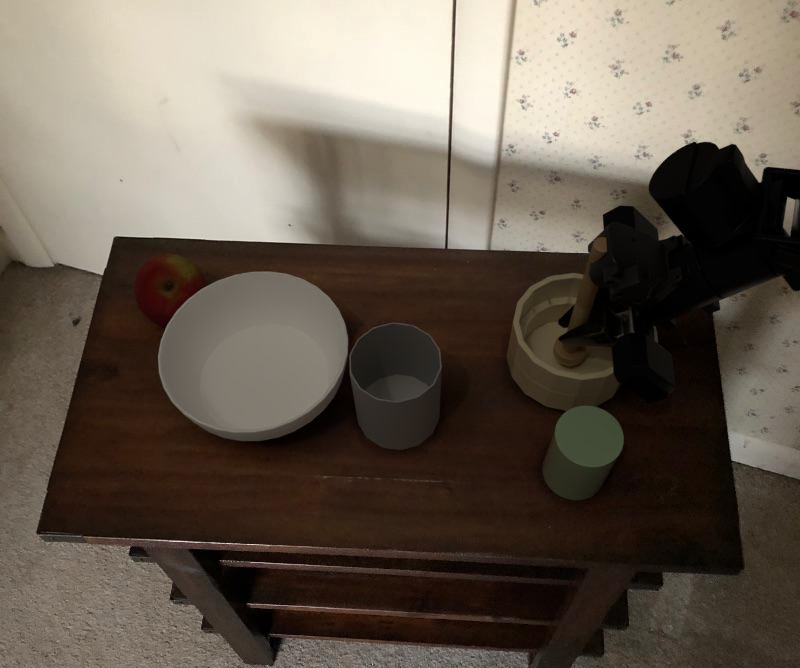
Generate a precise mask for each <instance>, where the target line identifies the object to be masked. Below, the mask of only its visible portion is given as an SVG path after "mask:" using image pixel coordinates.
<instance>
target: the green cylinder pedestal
mask: <svg viewBox="0 0 800 668" xmlns="http://www.w3.org/2000/svg"><path fill="white" fill-rule="evenodd" d="M624 445H625V436H624V431H623V429H622V426H621V424H620V423H619V421H618V420H617V419H616V418H615V416H613V415H612V414H611V413H610V412H608V411H607V410H605V409H603V408H600V407H599V406H596V407H594V406H578V407H574V408H572V409H570V410H568V411H565V412H564V413H562V415H561V416H560V417H559V418H558V420H557V422H556V424H555V427H554V430H553V433H552V435H551V438H550V440H549V444H548V447H547V450H546V452H545V456H544V459H543V462H542V467H541V469H542V470H541V471H542V476H543V479H544V482H545V484H546V485H547V487H548V488H549V489H550V491H552V492H553V493H554V494H555V495H557V496H559V497H561V498H563V499H566V500H569V501H583V500H587V499H589V498H592V497H594V496H595V495H597V493H598V492H599V491H600V490H601V489H602V487H603V485H604V483H605V482H606V479H607V478H608V476H609V475H610V472H611V470H612V469H613V467H614V465H615V463H616V462H617V460H618V458H619V456H620V455H621V453H622V451H623V448H624Z"/></svg>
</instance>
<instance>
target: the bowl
mask: <svg viewBox="0 0 800 668" xmlns="http://www.w3.org/2000/svg"><path fill="white" fill-rule="evenodd" d="M348 356H349V335H348V329H347V324H346V322H345V320H344V318H343V316H342V313H341V311H340V309H339V307H338V306H337V305H336V304H335V303H334V301H333V300H332V299H331V297H330V296H329V295H327V294H326V293H325V292H324V291H323V290H322V289H321V288H319V287H318V286H317V285H315V284H313V283H311V282H309V281H307V280H305V279H304V278H300V277H298V276H294V275H292V274H289V273H283V272H277V271H247V272H242V273H237V274H233V275H230V276H228V277H224V278H221V279H218V280H216V281H214V282H212V283H210V284H207V286H206V287H205V288H203V289H201V290H200V291H198V292H197V293H196V294H194V295H193V296H192V297H190V298H189V299H188V300H187V301H186V302H185V303H184V304H183V305H182V306H181V307H180V308H179V309H178V310H177V311H176V313H175V314H174V316H173V317H172V319H171V320H170V322H169V323H168V325H167V327H166V328H165V329H164V332H163V334H162V337H161V339H160V342H159V348H158V355H157V363H158V375H159V378H160V382H161V384H162V388H163V390H164V392H165V393H166V395H167V397H168V398H169V400H170V402H171V403H172V405H174V407H176V409H178V410H179V412H181V413H182V415H184V416H185V417H186V418H188V419H189V420H190V421H191V422H193V423H194V424H195V425H197V426H199V427H200V428H201V429H203V430H205V431H206V432H208V433H209V434H211V435H215V436H217V437H220V438H223V439H226V440H227V439H228V440H232V441H237V442H238V441H239V442H262V441H268V440H272V439H278V438H281V437H283V436H287V435H288V434H291V433H294V432H296V431H297V430H299V429H301V428H303V427H305V426H306V425H307V424H310V423H311V422H312V421H314V420H315V419H316V418H317V417H318V416H319V415H320V414H322V413H323V412H324V411H325V410H326V408H327V407H328V406H329V404H330V403H332V401H333V399H334V398H335V396H336V394H337V393H338V390H339V388H340V387H341V385H342V382H343V379H344V374H345V370H346V366H347V361H348V358H349V357H348Z"/></svg>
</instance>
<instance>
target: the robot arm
mask: <svg viewBox="0 0 800 668" xmlns="http://www.w3.org/2000/svg"><path fill="white" fill-rule="evenodd" d="M648 193H649V195H650V196H651V198H652V199H653V200H654V201H655V203H656V204H657V205H658V206H659V207H660V209H661V210H662V211H663V212H664V213H665V215H666V216H667V217H668V218H669V220H670V221H671V222H672V223H673V225H674V226H675V227H676V228H677V230H678V231H679V233H680V234H678V235H671V236H669V237H666V238H664V239H660V237H659V230H658V228H657V227H656V226H655V225H654V224H652V222H651V221H650V220H649V219H647V218H646V216H644V215H643V214H642V213H641V212H640V211H639V210H638V209H637V208H636V207H635V206H634V205H617V206H616V207H614V208H612V209H611V210H608V211H607V212H604V213H602V225H603V226H602V227H603V230H602V231H600V233H599V234H597V236H595V238H593V239H592V240H591V241H590V242H589V243H588V244H587V253H588V254H589V255H590V252H591V249H592V246H593V242H594V241H595V240H596V239H597V238H599V237H605V238H606V245H607V252H606V253H605V254H604V255H603V256H602V257H601V258H600V259H598V260H597V261H595V262H594V263H590V269H589V276H590V279H591V281H592V282H593V283H594V284H595V285H596V286H598V287H599V289H598V292H597V295H596V298H595V301H594V304H593V307H592V310H591V313H590V316H589V318H588V321H587V323H586V324H583V325H581V326H579V327H577V328H574V329H572V330H570V331H568V332H566V333H565V334H563V335H561V336H560V337H559V342H561V343H562V344H564V345H577V346H597V347H610V348H612V358H613V373H614V375H615V377H616V379H617V381H618V382H619V383H620V384H622V385H621V386H623V387H625V388H626V389H628V390H629V391H631V392H632V393H633V394H635V395H636V396H638V397H639V398H641V399H642V400H644V401H645V402H646V403H648V404H653V403H656V402H659V401H661V400H665V399H667V398H668V397H670V396H671V395H672V393H673V392H674V390H675V389H676V381H675V371H674V365H673V364H674V363H673V354H672V353H671V352H669V350H667V348H664V347H663V346H662V345H661V344H659V336H658V330H657V326H659V327H660V328H662V329H663V330H665V331H666V332H667V331H670V330H672V329H675V328H677V319H678V318H680V317H682V316H685V315H687V314H690V313H692V312H694V311H698V310H699V309H703V310H704V311H705V312H707V313H708V314H709V315H711V314H713V313H716V312H719V311H721V305H720V304H721V303H720V301H722V300H725V299H727V298H731V297H733V296H735V295H737V294H740V293H742V292H744V291H748V290H750V289H752V288H755V287H757V286H760V285H762V284H765V283H767V282H770V281H773V280H774V279H777V278H780V277H782V278H783V279H784V281H785V283H786V284H787V285H788V286H789V288H790V289H791V290H792V291H793V292H800V169H796V168H786V167H775V166H766V167H764V168H763V170H762V174H761V179H760V181H759V180H758V179H757V177H756V176H755V175H754V173H753V172H752V170H751V169H750V167H749V166H748V164H747V163H746V160H745V156H744V155H743V153H742V151H741V150H740V148H739V147H738V145H737V144H735V143H730V144H728V145H726V146H725V145H724V146H723V147H720V148H719V146H718V145H717V144H716V143H715V142H712V141H701V142H697V141H691V142H689V143H687V144H686V145H684V146H681V147H680V148H678V149H677V150H675V151H674V152H672V153H671V154H669V155H668V156H667V157H666V158H665V159H664V160H663V161H662V162H661V163H660V164H659V165H658V167H657V168H656V169H655V171H654V172H653V174H652V176H651V177H650V180H649V183H648ZM788 198H789V199H791V200H794V207H793V214H792V221H791V227H790V233H788V231H787V229H786V228H785V227H784V224H785V223H784V222H785V218H786V217H785V216H786V210H787V209H786V208H787V204H788ZM574 306H575V304H574V305H573V306H572V307H571V308H570V309H569V310H568V311H567V312H566V313H565V314H564V315H563V316H562V317H561V318H560V319H559V320H558V325H560V326H561V327H563V328H568V325H569V322H570V319H571V315H572V312H573V309H574ZM628 310H629V312H627V313H625V314H620V315H617V313H621V312H624V311H628Z"/></svg>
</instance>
